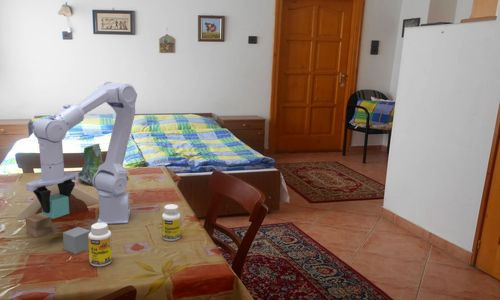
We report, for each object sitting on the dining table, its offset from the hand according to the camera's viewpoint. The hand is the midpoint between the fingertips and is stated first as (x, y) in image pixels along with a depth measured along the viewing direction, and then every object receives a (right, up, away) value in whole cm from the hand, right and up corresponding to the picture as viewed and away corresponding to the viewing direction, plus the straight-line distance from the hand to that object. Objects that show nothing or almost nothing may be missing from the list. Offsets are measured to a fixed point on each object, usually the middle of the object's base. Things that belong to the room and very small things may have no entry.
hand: (55, 209), depth 119 cm
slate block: (+7, -11, -2) cm, 13 cm away
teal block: (0, -1, 0) cm, 1 cm away
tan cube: (-8, -8, +7) cm, 13 cm away
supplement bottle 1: (+16, -13, -10) cm, 23 cm away
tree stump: (-7, +4, +59) cm, 59 cm away
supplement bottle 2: (+31, -9, +6) cm, 34 cm away
